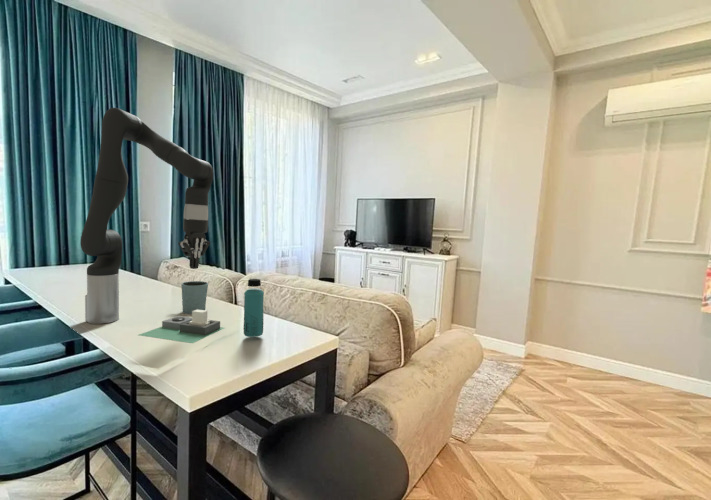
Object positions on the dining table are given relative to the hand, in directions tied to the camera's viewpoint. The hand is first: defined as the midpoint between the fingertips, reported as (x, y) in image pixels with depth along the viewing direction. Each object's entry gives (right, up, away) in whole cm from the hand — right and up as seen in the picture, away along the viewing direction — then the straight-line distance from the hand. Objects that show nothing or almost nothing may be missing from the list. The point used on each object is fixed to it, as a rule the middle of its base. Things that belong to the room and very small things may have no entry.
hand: (193, 268), depth 115 cm
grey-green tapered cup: (-12, -20, +24) cm, 34 cm away
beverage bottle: (+22, -23, -4) cm, 32 cm away
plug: (+3, -21, -3) cm, 21 cm away
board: (-1, -22, -5) cm, 23 cm away
